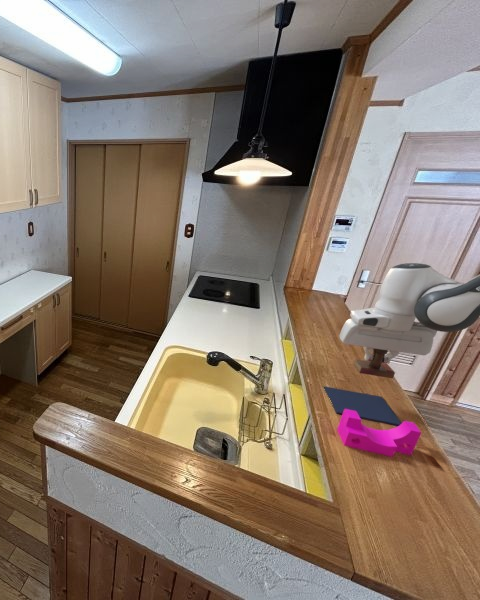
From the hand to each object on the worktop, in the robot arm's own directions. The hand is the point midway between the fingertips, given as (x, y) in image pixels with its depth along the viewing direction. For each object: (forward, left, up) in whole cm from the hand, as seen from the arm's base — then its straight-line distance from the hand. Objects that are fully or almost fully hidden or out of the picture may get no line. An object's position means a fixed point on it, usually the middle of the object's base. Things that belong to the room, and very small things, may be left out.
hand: (376, 361), depth 96 cm
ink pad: (0, 0, -17) cm, 17 cm away
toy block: (+3, +18, -17) cm, 25 cm away
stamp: (0, 0, -4) cm, 4 cm away
